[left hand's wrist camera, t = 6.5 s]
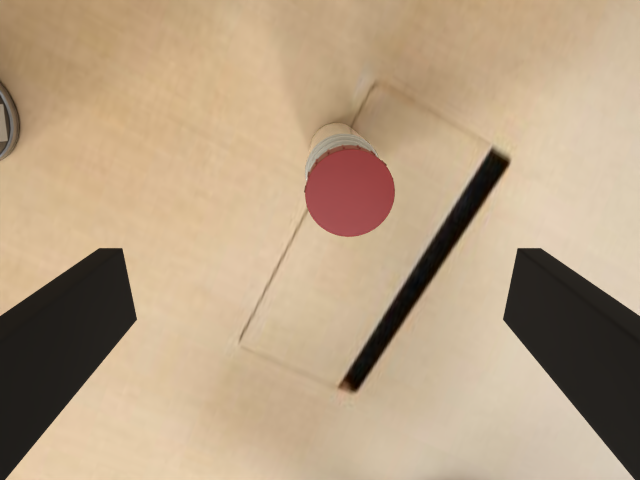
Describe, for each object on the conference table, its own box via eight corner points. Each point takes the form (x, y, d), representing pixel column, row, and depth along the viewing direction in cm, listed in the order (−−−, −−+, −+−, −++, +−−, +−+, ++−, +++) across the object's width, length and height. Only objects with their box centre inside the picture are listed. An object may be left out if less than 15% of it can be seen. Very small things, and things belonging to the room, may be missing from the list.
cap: (290, 200, 21) (287, 209, 19) (335, 126, 19) (336, 129, 18) (358, 240, 21) (362, 253, 20) (406, 172, 20) (414, 179, 18)
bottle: (300, 158, 36) (283, 208, 19) (327, 112, 35) (334, 123, 18) (343, 185, 37) (362, 254, 20) (371, 141, 35) (417, 177, 19)
